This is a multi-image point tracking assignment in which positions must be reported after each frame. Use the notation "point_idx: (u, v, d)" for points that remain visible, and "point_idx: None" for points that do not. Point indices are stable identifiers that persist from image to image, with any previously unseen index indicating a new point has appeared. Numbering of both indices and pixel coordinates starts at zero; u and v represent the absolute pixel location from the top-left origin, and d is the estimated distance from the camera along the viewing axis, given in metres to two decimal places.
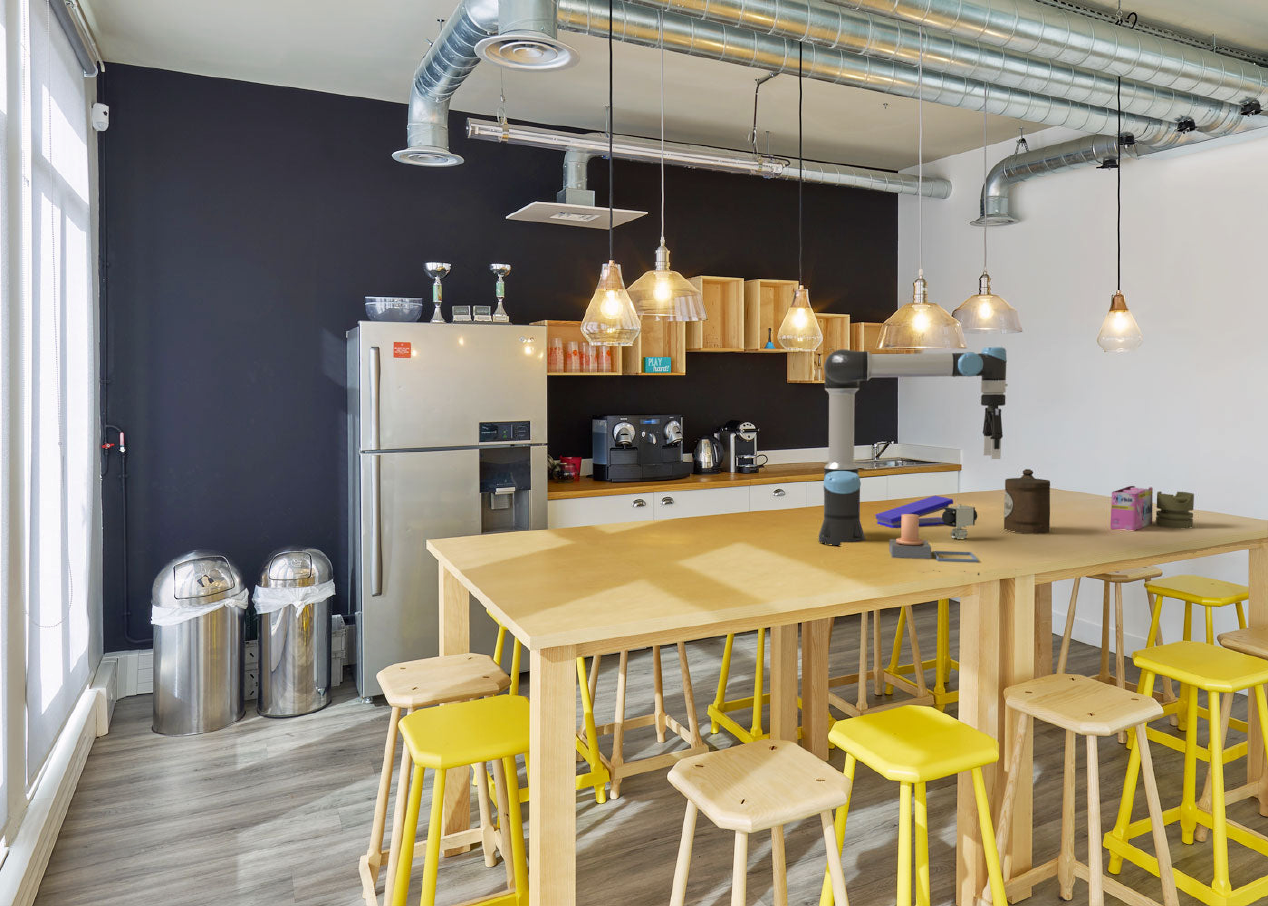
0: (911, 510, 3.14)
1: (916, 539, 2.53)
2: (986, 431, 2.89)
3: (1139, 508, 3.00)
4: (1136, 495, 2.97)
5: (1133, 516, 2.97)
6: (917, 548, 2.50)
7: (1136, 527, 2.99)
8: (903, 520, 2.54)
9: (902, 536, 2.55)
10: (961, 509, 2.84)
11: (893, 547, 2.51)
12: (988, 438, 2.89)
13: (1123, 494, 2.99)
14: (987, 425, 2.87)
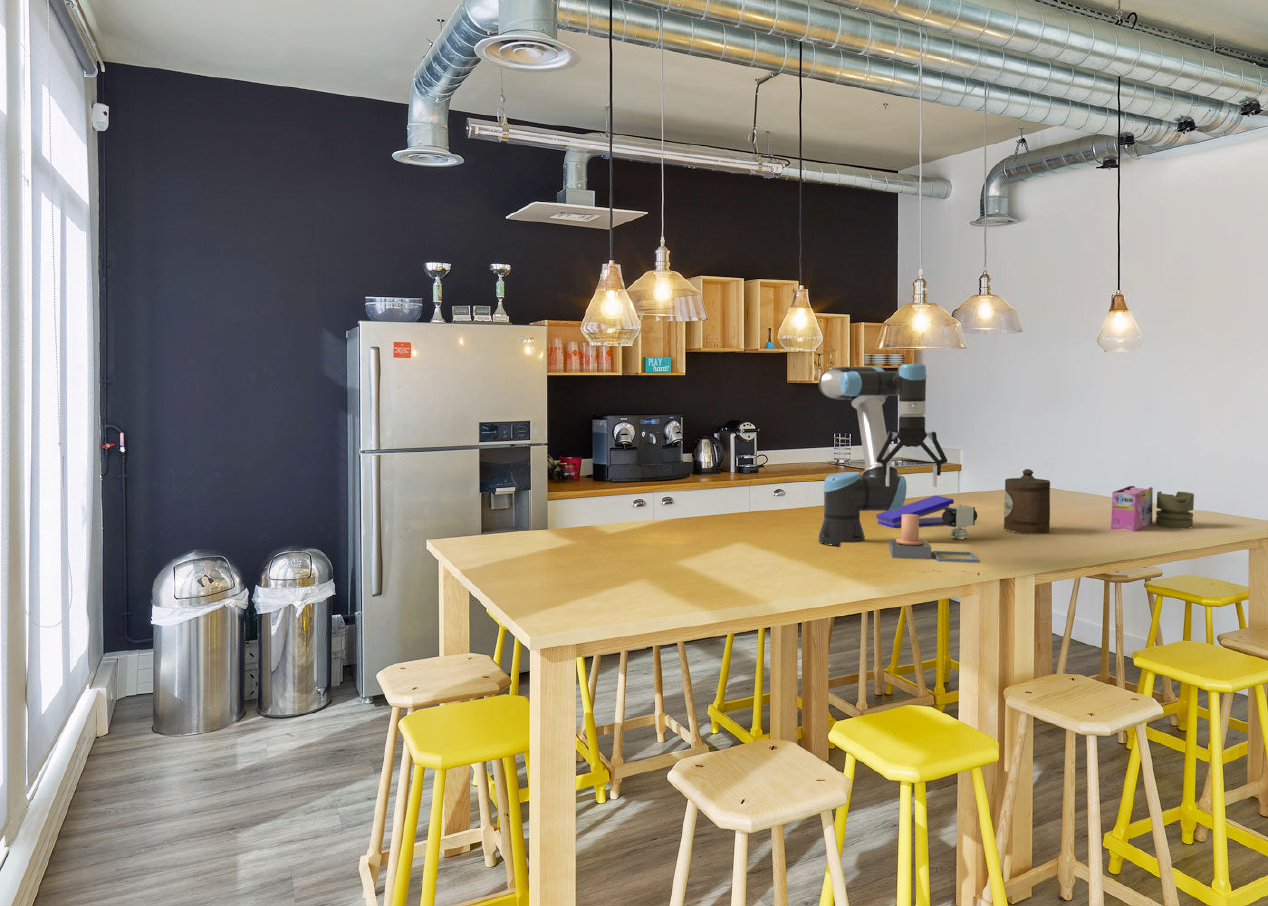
0: (912, 510, 3.14)
1: (916, 539, 2.53)
2: None
3: (1140, 508, 3.00)
4: (1137, 495, 2.97)
5: (1134, 516, 2.97)
6: (917, 548, 2.50)
7: (1137, 527, 2.99)
8: (903, 520, 2.54)
9: (902, 536, 2.55)
10: (961, 509, 2.84)
11: (893, 547, 2.51)
12: (933, 467, 2.52)
13: (1124, 494, 2.98)
14: None
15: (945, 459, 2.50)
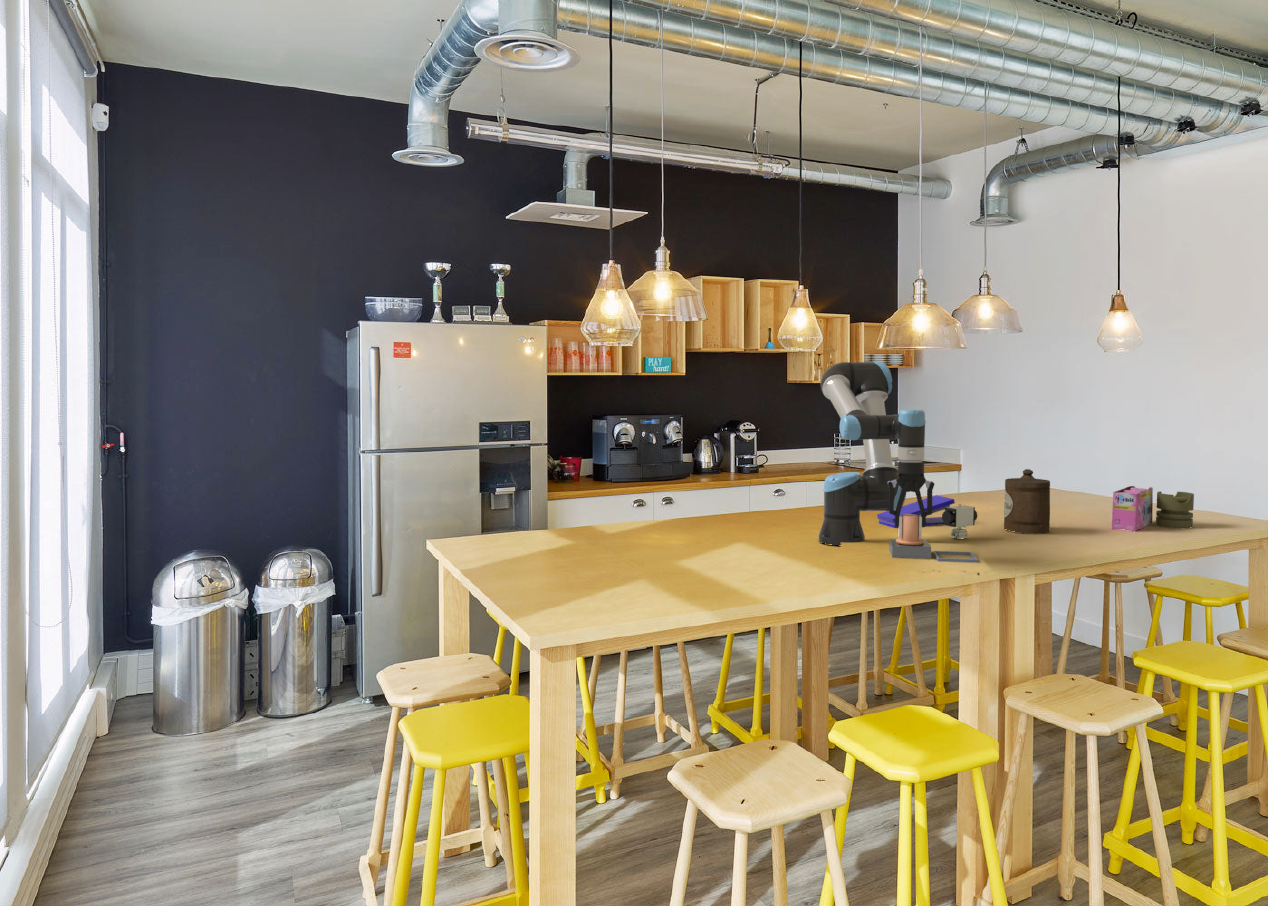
0: (913, 510, 3.14)
1: (916, 539, 2.53)
2: (919, 508, 2.55)
3: (1140, 508, 3.00)
4: (1137, 495, 2.97)
5: (1135, 516, 2.97)
6: (917, 548, 2.50)
7: (1137, 527, 2.99)
8: (903, 520, 2.54)
9: (902, 536, 2.55)
10: (961, 509, 2.84)
11: (893, 547, 2.51)
12: None
13: (1124, 494, 2.98)
14: (917, 499, 2.55)
15: (930, 511, 2.52)
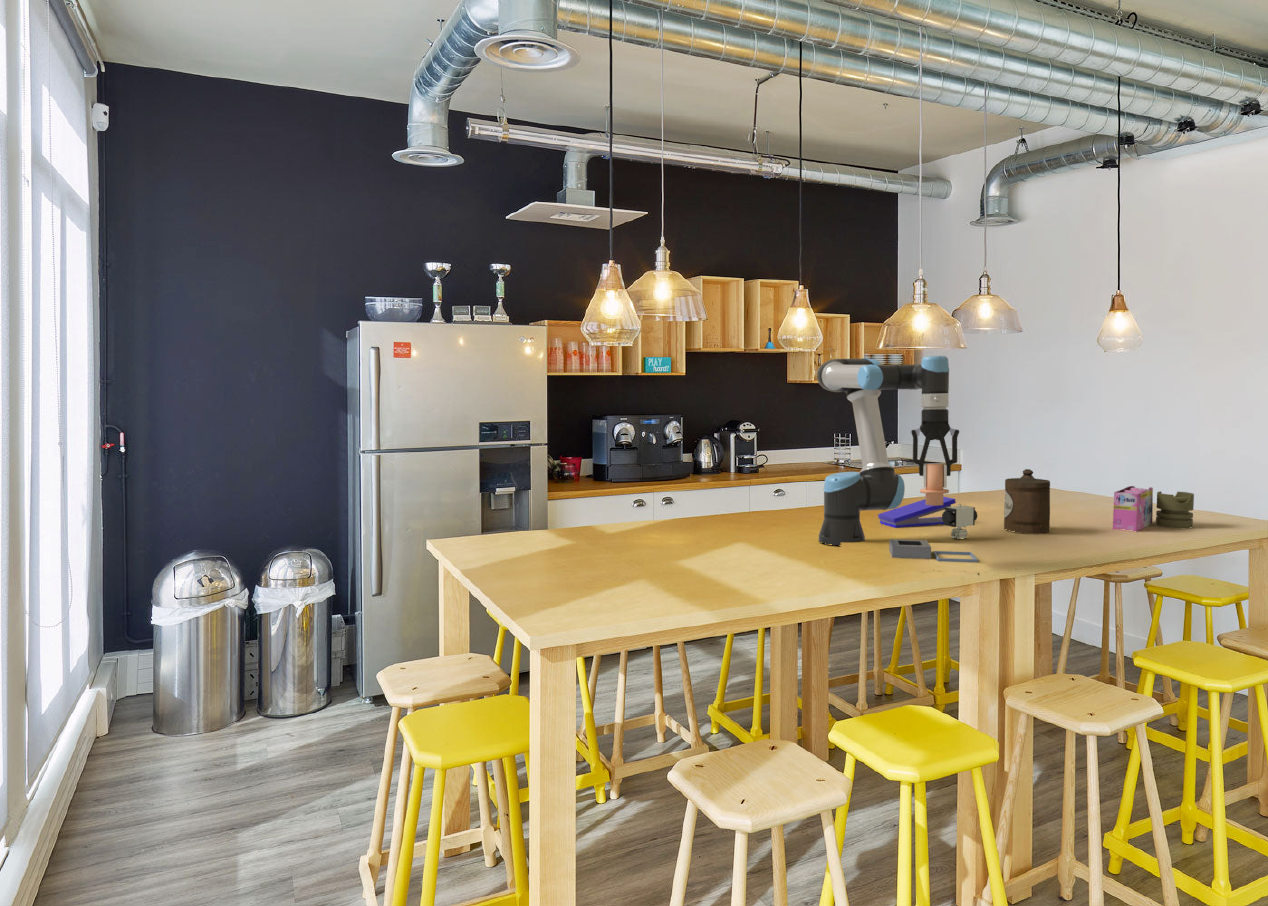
0: (914, 510, 3.14)
1: (941, 488, 2.48)
2: (944, 457, 2.50)
3: (1141, 508, 2.99)
4: (1139, 495, 2.96)
5: (1136, 516, 2.96)
6: (917, 548, 2.50)
7: (1138, 527, 2.98)
8: (927, 469, 2.49)
9: (926, 485, 2.50)
10: (961, 509, 2.84)
11: (893, 547, 2.51)
12: None
13: (1126, 494, 2.98)
14: (941, 447, 2.50)
15: (955, 459, 2.47)
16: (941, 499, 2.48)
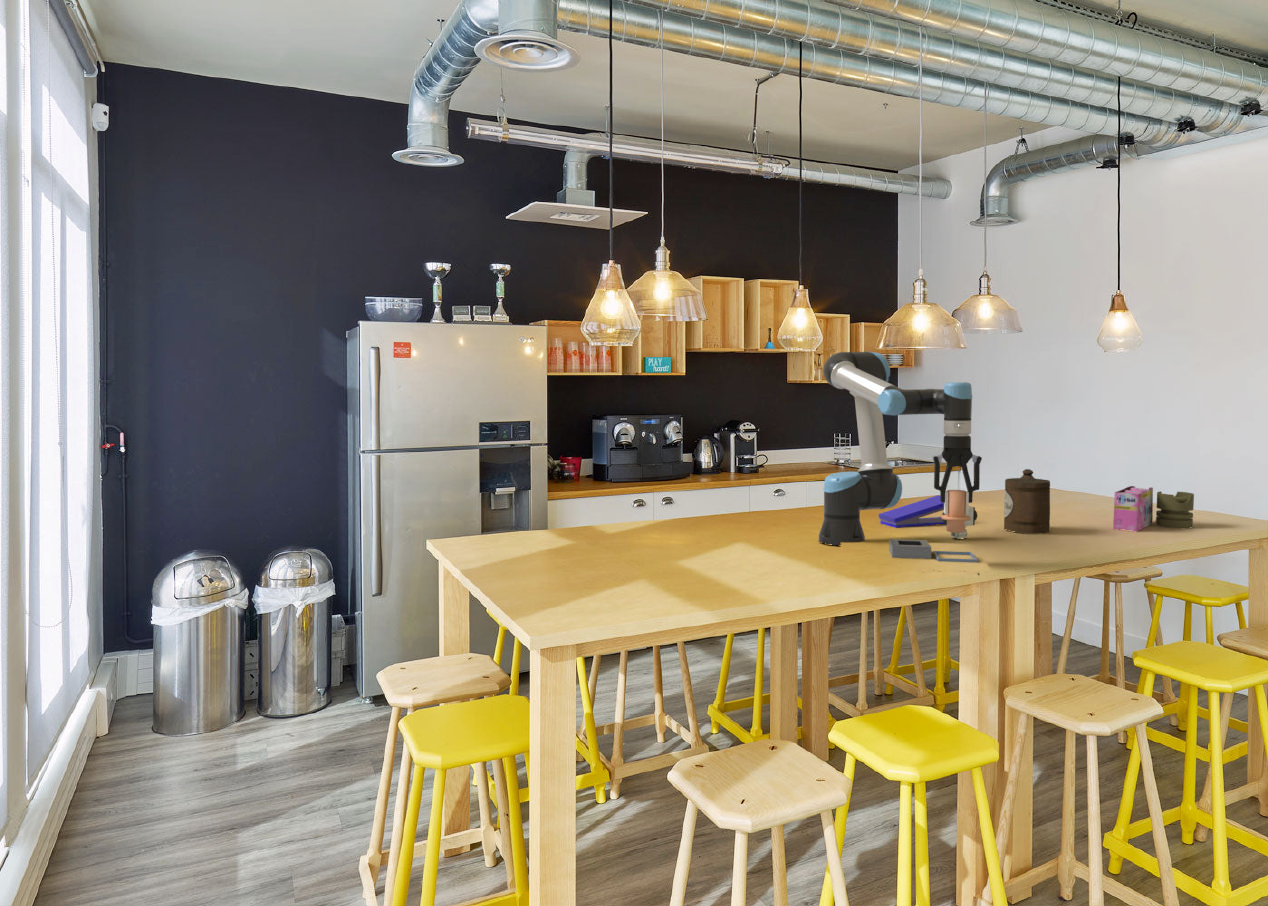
0: (914, 510, 3.15)
1: (963, 515, 2.47)
2: None
3: (1142, 508, 2.99)
4: (1139, 495, 2.96)
5: (1137, 516, 2.96)
6: (917, 548, 2.50)
7: (1139, 527, 2.98)
8: (949, 496, 2.48)
9: (948, 512, 2.48)
10: None
11: (893, 547, 2.51)
12: None
13: (1126, 494, 2.98)
14: (963, 474, 2.48)
15: (978, 486, 2.46)
16: (963, 526, 2.47)
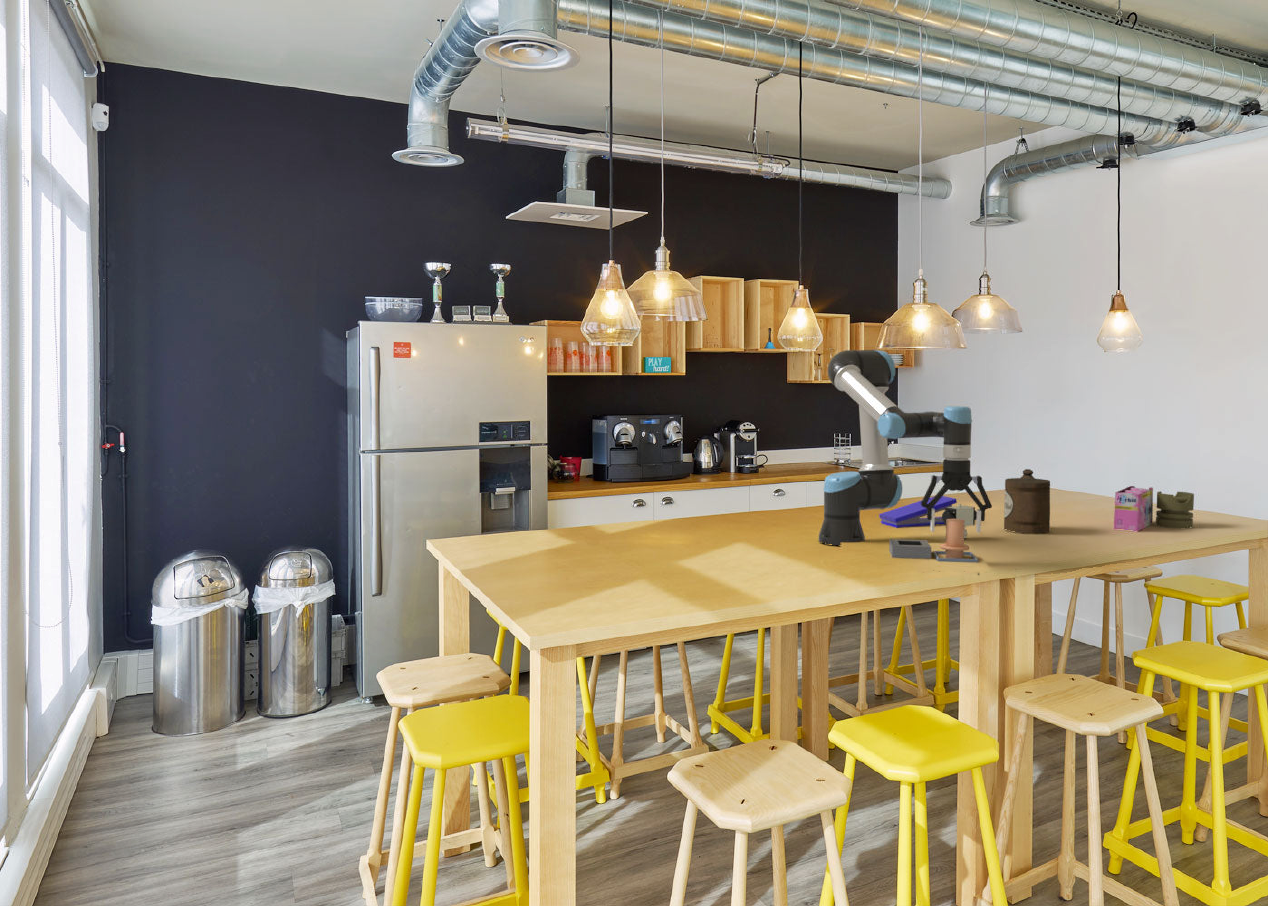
0: (915, 510, 3.15)
1: (961, 544, 2.48)
2: (976, 503, 2.48)
3: (1142, 508, 2.99)
4: (1140, 495, 2.96)
5: (1137, 516, 2.96)
6: (917, 548, 2.50)
7: (1139, 527, 2.98)
8: (948, 525, 2.48)
9: (947, 541, 2.49)
10: (961, 509, 2.84)
11: (893, 547, 2.51)
12: (977, 512, 2.48)
13: (1127, 494, 2.98)
14: None
15: (989, 504, 2.46)
16: (961, 555, 2.48)
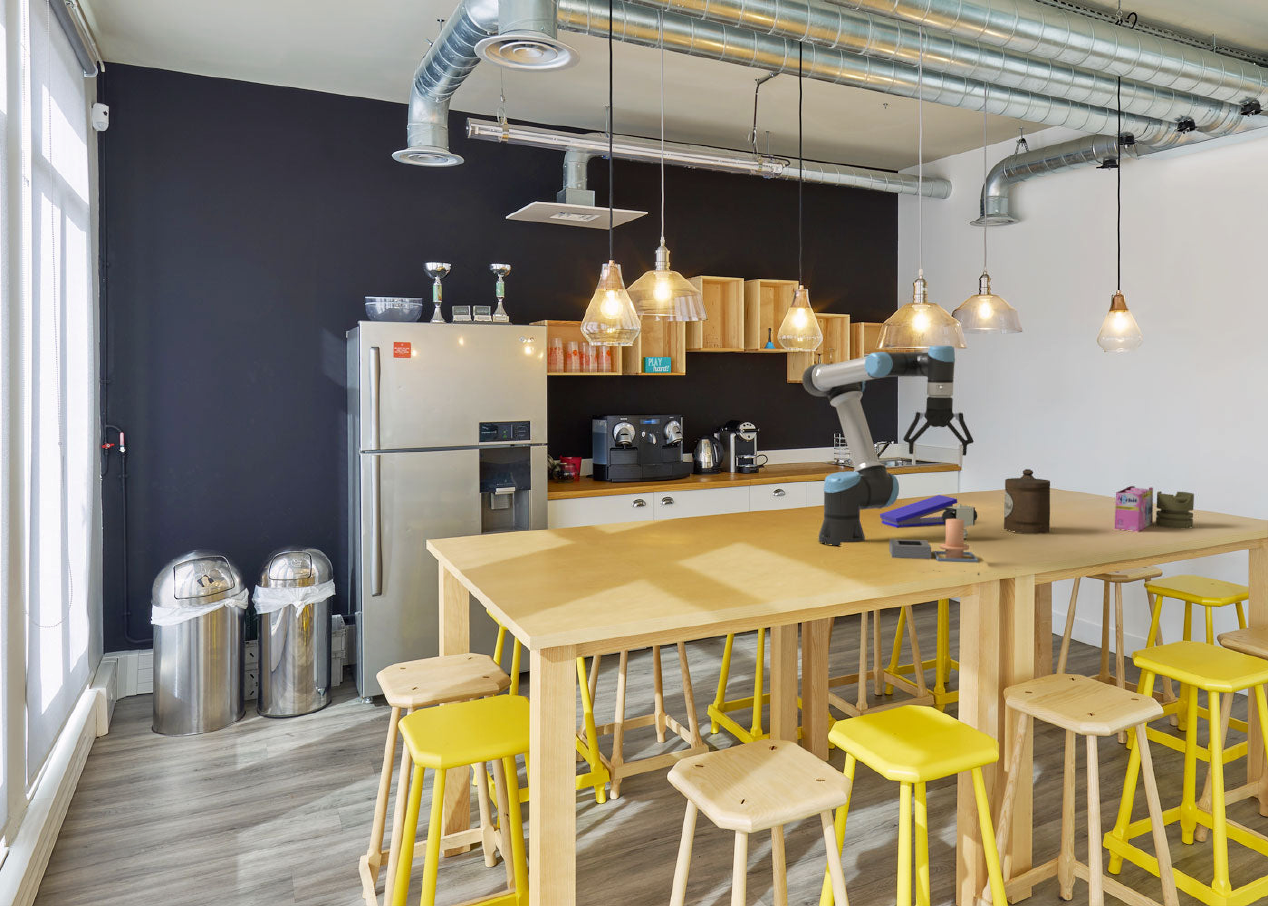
0: (916, 509, 3.15)
1: (961, 544, 2.48)
2: None
3: (1143, 508, 2.99)
4: (1140, 495, 2.96)
5: (1138, 516, 2.96)
6: (917, 548, 2.50)
7: (1140, 528, 2.98)
8: (948, 525, 2.49)
9: (947, 541, 2.49)
10: (961, 509, 2.84)
11: (893, 547, 2.51)
12: (959, 447, 2.58)
13: (1127, 495, 2.97)
14: (952, 431, 2.59)
15: (971, 439, 2.56)
16: (961, 555, 2.48)
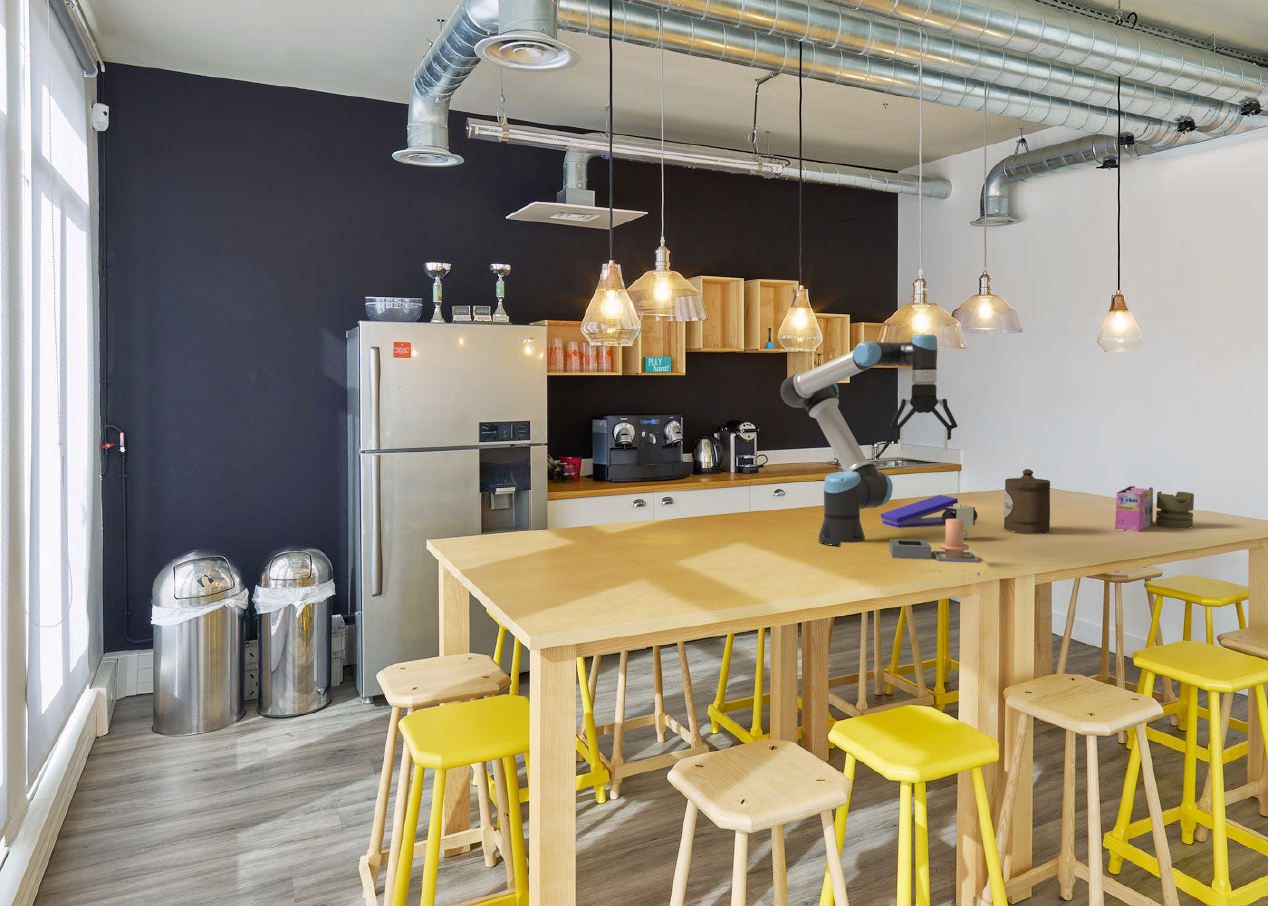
0: (916, 509, 3.15)
1: (961, 544, 2.48)
2: (943, 424, 2.69)
3: (1143, 508, 2.99)
4: (1141, 495, 2.96)
5: (1139, 516, 2.96)
6: (917, 548, 2.50)
7: (1141, 528, 2.98)
8: (947, 525, 2.48)
9: (946, 541, 2.49)
10: (961, 509, 2.84)
11: (893, 547, 2.51)
12: (944, 431, 2.69)
13: (1128, 495, 2.97)
14: (937, 417, 2.70)
15: (955, 424, 2.67)
16: (961, 555, 2.48)
